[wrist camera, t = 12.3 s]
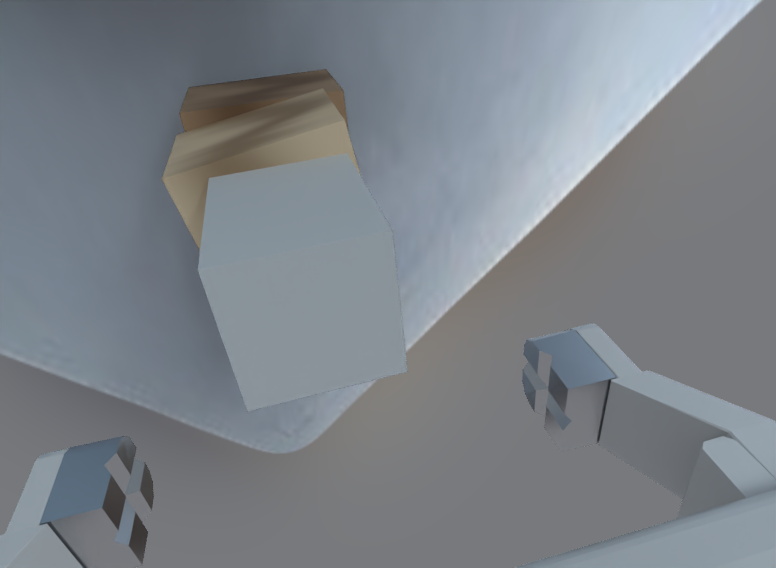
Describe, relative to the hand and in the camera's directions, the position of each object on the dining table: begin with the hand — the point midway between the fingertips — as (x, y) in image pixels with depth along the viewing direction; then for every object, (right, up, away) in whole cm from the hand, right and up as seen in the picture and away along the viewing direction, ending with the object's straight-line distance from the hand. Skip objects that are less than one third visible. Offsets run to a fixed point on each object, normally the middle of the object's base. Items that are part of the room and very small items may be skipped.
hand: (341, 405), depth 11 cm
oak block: (-4, +7, +11) cm, 14 cm away
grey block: (-2, +5, +7) cm, 9 cm away
